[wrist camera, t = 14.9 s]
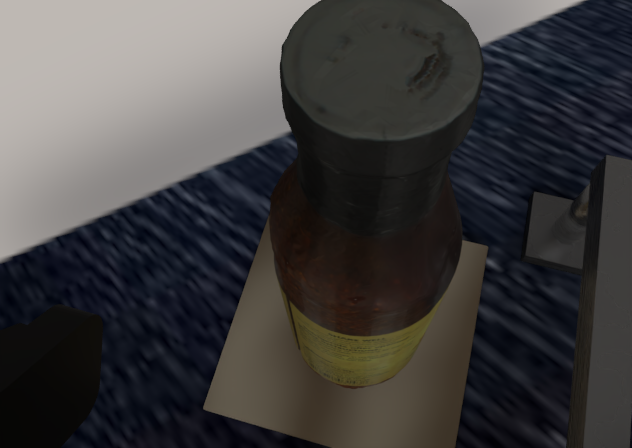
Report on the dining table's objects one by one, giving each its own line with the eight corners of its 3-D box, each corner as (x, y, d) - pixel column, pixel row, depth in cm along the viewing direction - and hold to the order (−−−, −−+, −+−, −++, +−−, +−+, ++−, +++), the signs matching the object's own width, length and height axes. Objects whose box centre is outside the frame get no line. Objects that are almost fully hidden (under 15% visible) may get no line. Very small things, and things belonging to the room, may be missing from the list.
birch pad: (484, 251, 31) (488, 246, 30) (446, 481, 27) (449, 481, 26) (277, 201, 33) (276, 194, 32) (206, 410, 28) (202, 408, 27)
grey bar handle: (600, 214, 32) (671, 146, 26) (567, 620, 24) (659, 674, 18) (529, 198, 33) (581, 127, 26) (475, 591, 25) (530, 632, 18)
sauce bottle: (439, 352, 28) (647, 125, 10) (331, 417, 27) (346, 292, 9) (370, 247, 31) (439, -90, 12) (268, 301, 29) (179, 17, 11)
